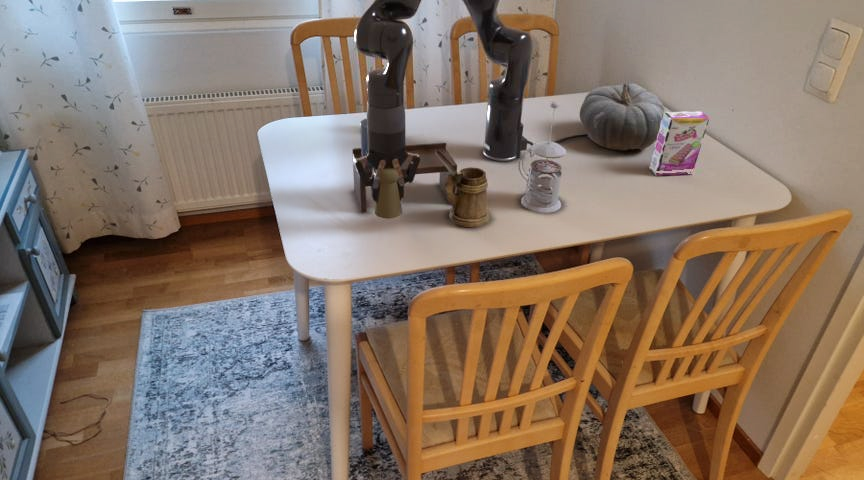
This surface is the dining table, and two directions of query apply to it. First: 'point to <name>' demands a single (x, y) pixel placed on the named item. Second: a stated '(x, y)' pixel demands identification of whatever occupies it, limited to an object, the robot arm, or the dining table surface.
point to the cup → (364, 140)
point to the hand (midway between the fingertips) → (388, 200)
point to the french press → (543, 195)
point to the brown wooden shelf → (426, 165)
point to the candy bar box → (678, 141)
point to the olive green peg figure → (388, 195)
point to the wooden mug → (466, 194)
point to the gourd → (622, 116)
